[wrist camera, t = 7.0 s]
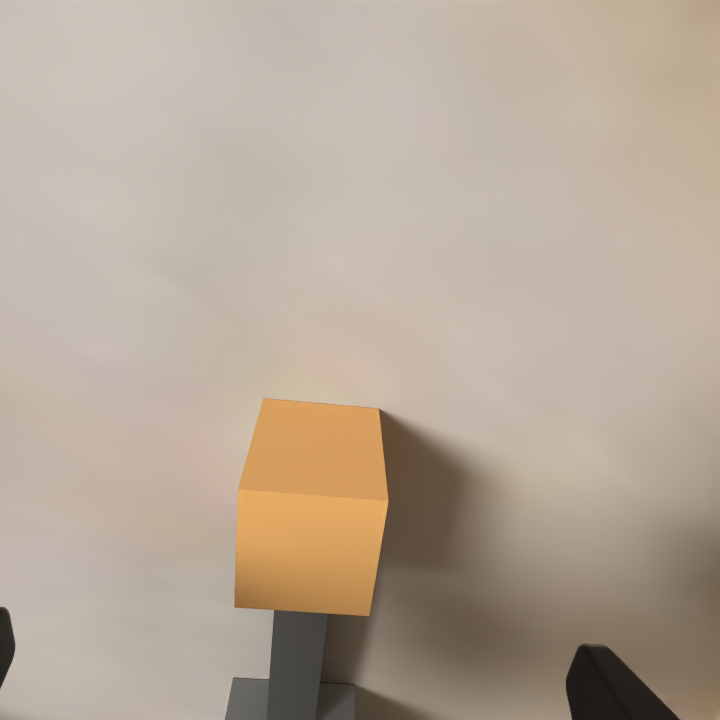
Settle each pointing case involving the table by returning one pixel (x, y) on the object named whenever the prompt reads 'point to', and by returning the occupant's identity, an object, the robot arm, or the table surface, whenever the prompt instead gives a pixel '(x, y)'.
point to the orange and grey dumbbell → (307, 547)
